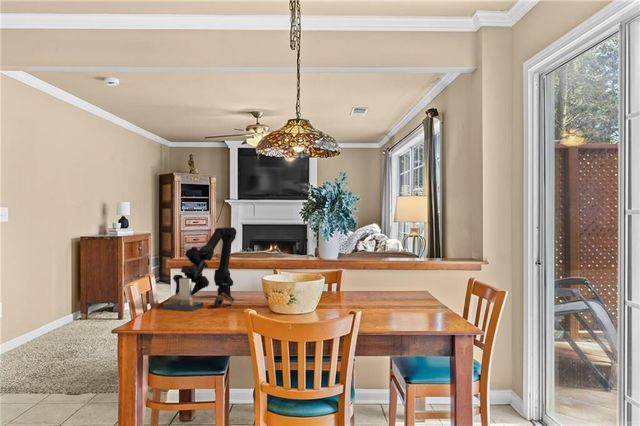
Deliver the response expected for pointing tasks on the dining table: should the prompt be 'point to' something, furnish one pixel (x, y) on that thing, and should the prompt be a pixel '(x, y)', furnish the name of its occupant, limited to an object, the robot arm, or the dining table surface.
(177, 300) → the offcut
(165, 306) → the plate
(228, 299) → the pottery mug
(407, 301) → the dining table surface
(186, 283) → the white upright block
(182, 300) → the offcut
